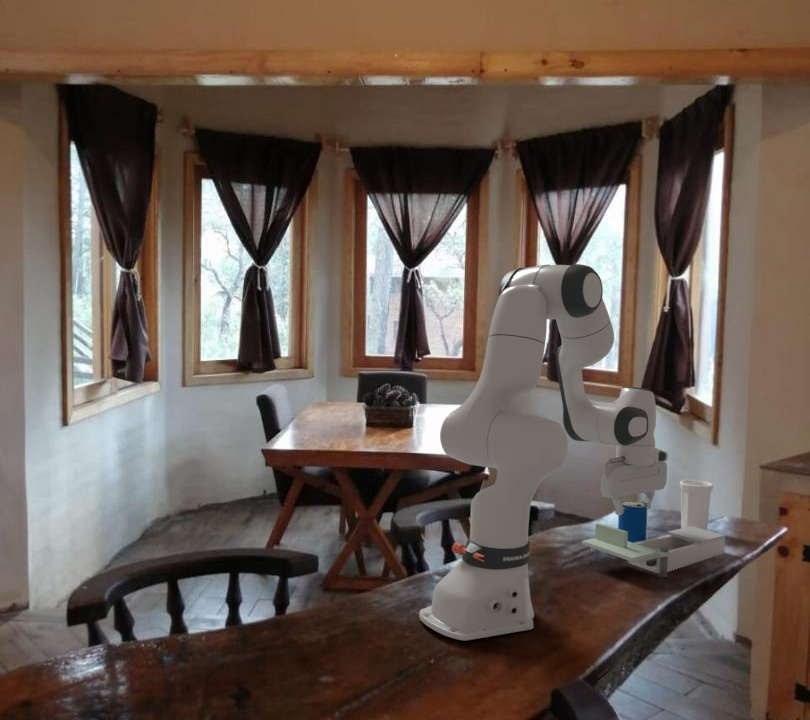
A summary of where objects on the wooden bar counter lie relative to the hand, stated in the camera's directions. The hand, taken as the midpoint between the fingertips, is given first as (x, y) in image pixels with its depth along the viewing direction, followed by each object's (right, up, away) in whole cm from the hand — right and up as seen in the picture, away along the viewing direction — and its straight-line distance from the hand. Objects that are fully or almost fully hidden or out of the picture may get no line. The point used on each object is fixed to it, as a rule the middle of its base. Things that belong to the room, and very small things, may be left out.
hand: (633, 511), depth 178 cm
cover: (-6, -6, -13) cm, 15 cm away
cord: (+9, -10, -5) cm, 14 cm away
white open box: (+9, -10, -5) cm, 15 cm away
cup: (+20, -10, +15) cm, 27 cm away
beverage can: (0, -10, 0) cm, 10 cm away
